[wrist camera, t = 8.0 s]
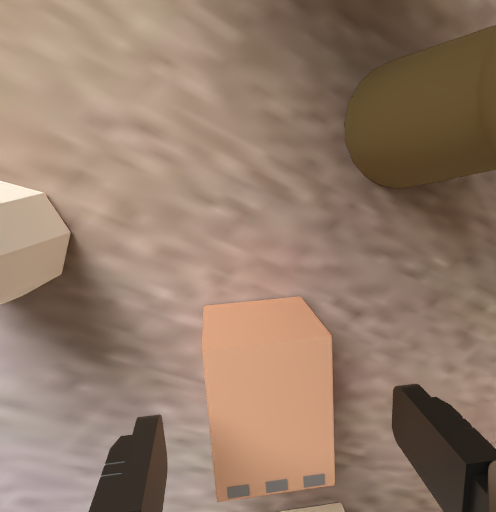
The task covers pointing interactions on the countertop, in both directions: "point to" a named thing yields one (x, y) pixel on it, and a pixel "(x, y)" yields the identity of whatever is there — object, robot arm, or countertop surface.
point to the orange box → (268, 397)
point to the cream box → (320, 508)
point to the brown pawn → (427, 114)
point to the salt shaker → (29, 241)
